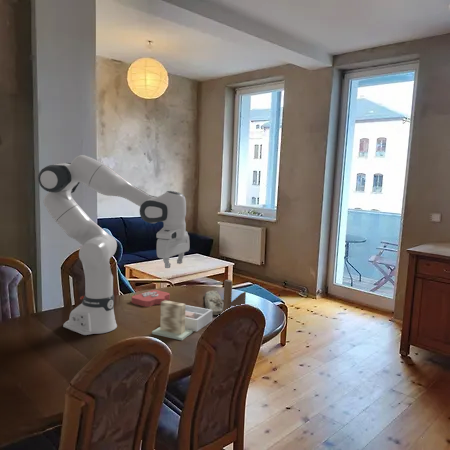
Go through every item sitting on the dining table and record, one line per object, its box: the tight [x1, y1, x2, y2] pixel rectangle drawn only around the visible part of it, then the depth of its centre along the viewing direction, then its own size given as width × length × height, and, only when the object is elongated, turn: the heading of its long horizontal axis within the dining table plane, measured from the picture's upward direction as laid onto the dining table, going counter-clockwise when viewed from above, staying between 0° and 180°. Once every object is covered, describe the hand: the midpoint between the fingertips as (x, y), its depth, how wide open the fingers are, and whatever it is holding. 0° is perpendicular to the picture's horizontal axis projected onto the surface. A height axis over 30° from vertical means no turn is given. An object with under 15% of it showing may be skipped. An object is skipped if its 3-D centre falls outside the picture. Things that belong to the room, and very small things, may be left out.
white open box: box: [185, 304, 214, 332], centre depth 185 cm, size 16×15×5 cm
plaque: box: [131, 289, 171, 308], centre depth 214 cm, size 18×4×15 cm
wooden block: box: [222, 279, 247, 312], centre depth 189 cm, size 4×11×18 cm, turn 54°
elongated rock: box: [203, 290, 224, 316], centre depth 212 cm, size 35×5×10 cm
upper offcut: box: [185, 312, 194, 319], centre depth 181 cm, size 8×4×3 cm, turn 72°
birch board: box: [159, 300, 187, 334], centre depth 172 cm, size 10×3×12 cm, turn 66°
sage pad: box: [151, 326, 194, 341], centre depth 173 cm, size 14×9×1 cm, turn 66°
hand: (173, 265), depth 169 cm, fingers open, 8 cm apart
